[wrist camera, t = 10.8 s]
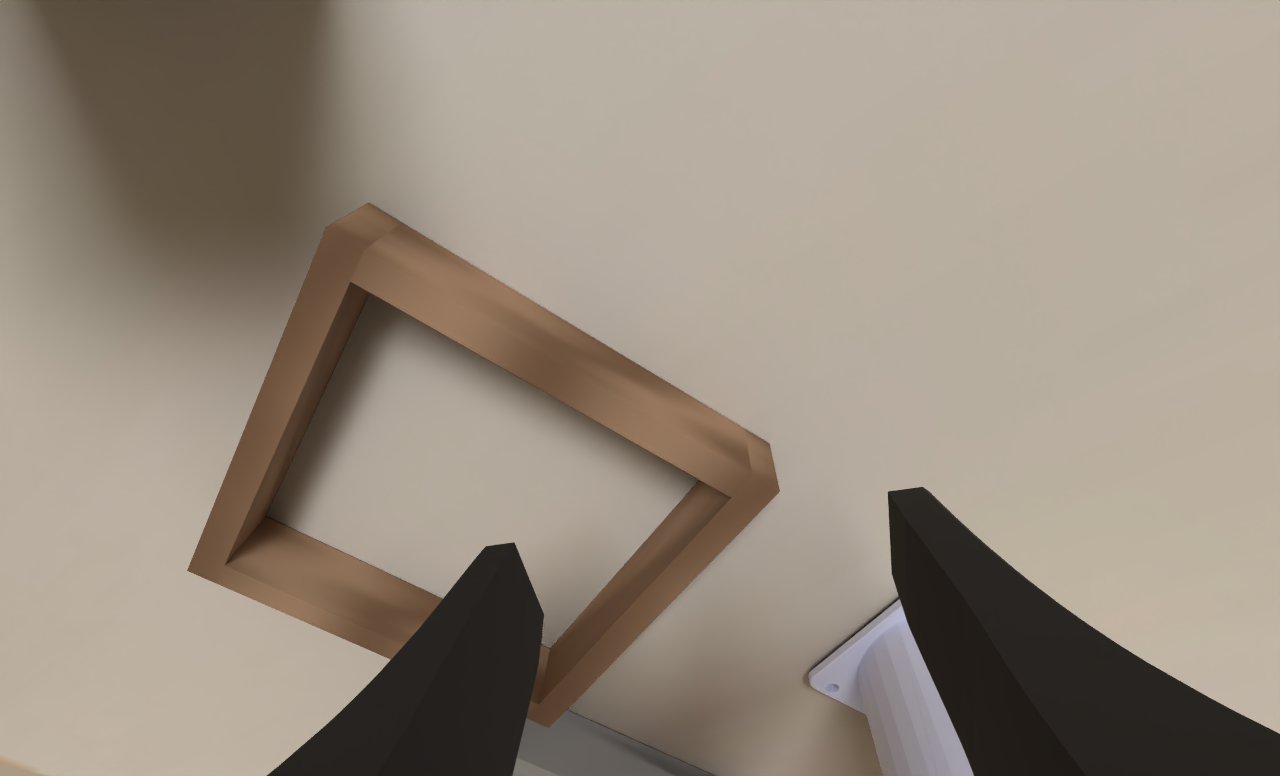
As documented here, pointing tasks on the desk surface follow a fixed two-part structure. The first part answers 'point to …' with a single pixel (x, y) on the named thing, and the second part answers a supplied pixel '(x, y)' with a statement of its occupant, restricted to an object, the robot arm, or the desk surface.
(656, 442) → the square wooden frame
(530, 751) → the tray
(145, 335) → the desk surface
